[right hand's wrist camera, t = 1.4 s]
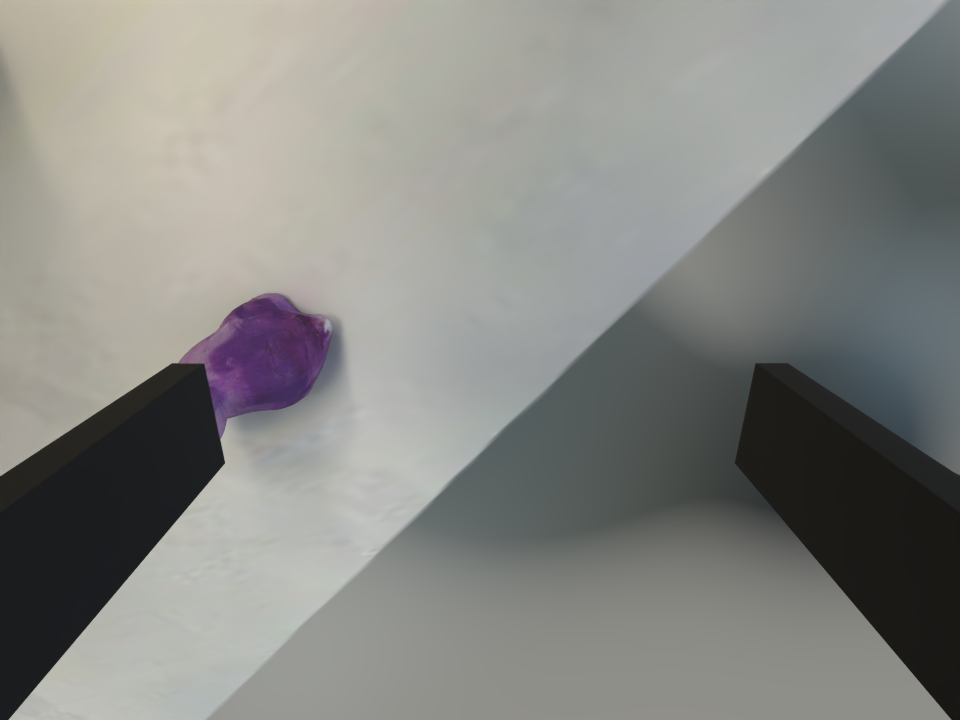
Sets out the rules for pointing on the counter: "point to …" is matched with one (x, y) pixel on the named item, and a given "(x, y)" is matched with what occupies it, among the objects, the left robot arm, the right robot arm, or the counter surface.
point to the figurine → (262, 357)
